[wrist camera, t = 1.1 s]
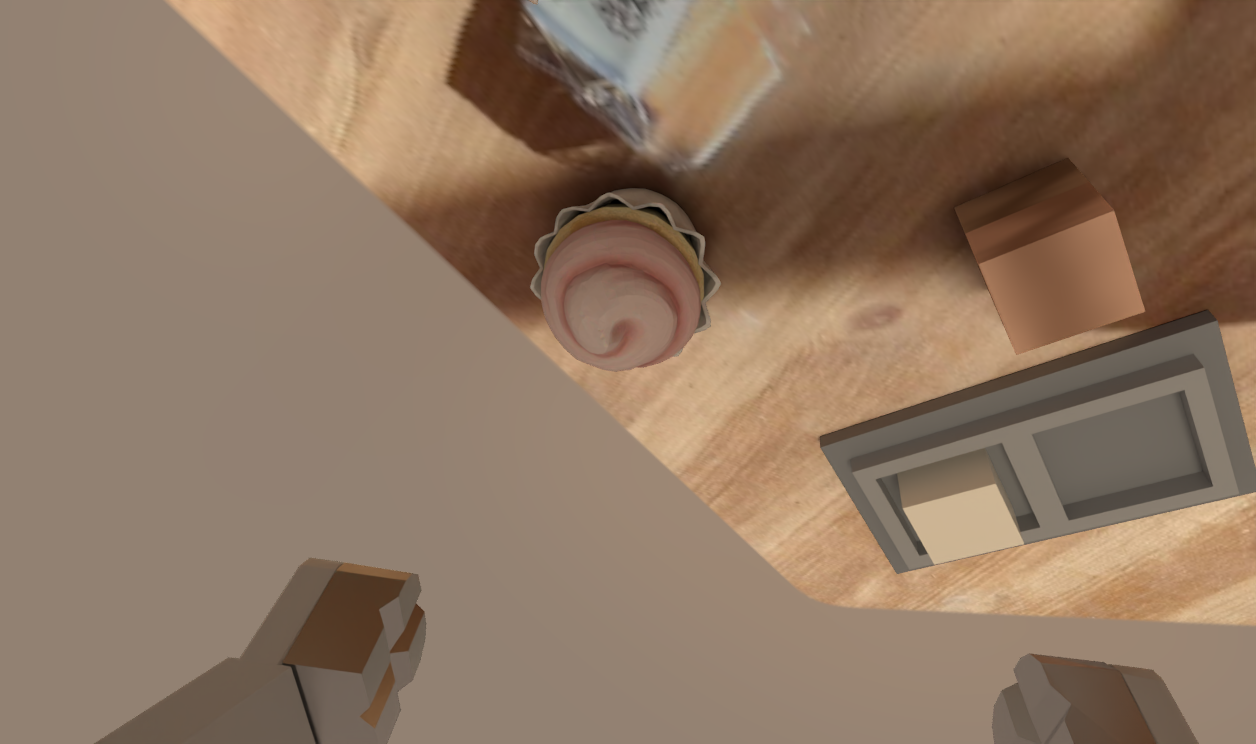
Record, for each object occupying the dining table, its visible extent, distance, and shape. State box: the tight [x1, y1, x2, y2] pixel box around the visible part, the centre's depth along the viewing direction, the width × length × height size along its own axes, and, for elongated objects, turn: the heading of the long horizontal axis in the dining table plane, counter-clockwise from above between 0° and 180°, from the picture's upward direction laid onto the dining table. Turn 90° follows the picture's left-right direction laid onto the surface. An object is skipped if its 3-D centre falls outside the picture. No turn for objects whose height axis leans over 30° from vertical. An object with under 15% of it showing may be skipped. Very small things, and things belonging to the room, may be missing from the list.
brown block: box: [954, 158, 1145, 355], centre depth 33 cm, size 5×5×6 cm
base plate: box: [820, 310, 1256, 574], centre depth 41 cm, size 20×12×4 cm, turn 122°
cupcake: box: [530, 188, 721, 372], centre depth 35 cm, size 9×9×10 cm
